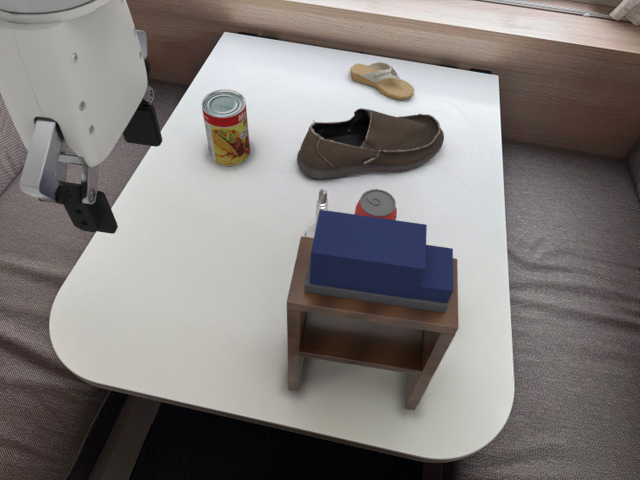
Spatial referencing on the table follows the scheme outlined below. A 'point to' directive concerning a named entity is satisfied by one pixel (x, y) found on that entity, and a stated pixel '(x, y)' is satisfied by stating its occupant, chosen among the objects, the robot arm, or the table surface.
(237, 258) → the table surface
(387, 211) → the beer can
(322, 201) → the screw
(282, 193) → the table surface
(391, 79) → the sandal
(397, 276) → the blue stepped block
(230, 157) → the canned food
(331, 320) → the shoe stand
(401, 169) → the loafer
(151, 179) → the table surface
